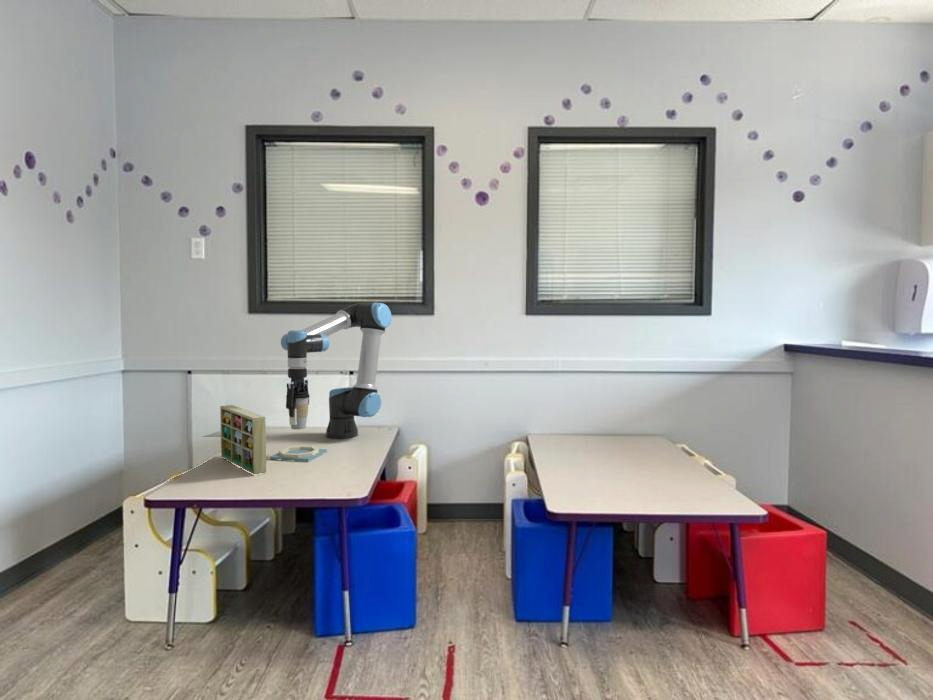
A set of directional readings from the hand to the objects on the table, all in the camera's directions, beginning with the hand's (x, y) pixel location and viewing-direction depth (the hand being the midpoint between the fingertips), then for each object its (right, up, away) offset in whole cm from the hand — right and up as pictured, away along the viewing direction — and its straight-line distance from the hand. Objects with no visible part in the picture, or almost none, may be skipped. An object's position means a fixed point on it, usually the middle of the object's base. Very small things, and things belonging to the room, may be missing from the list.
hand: (298, 422), depth 245 cm
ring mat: (0, -14, +1) cm, 14 cm away
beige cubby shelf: (-17, -15, -15) cm, 27 cm away
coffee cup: (0, -2, 0) cm, 2 cm away
